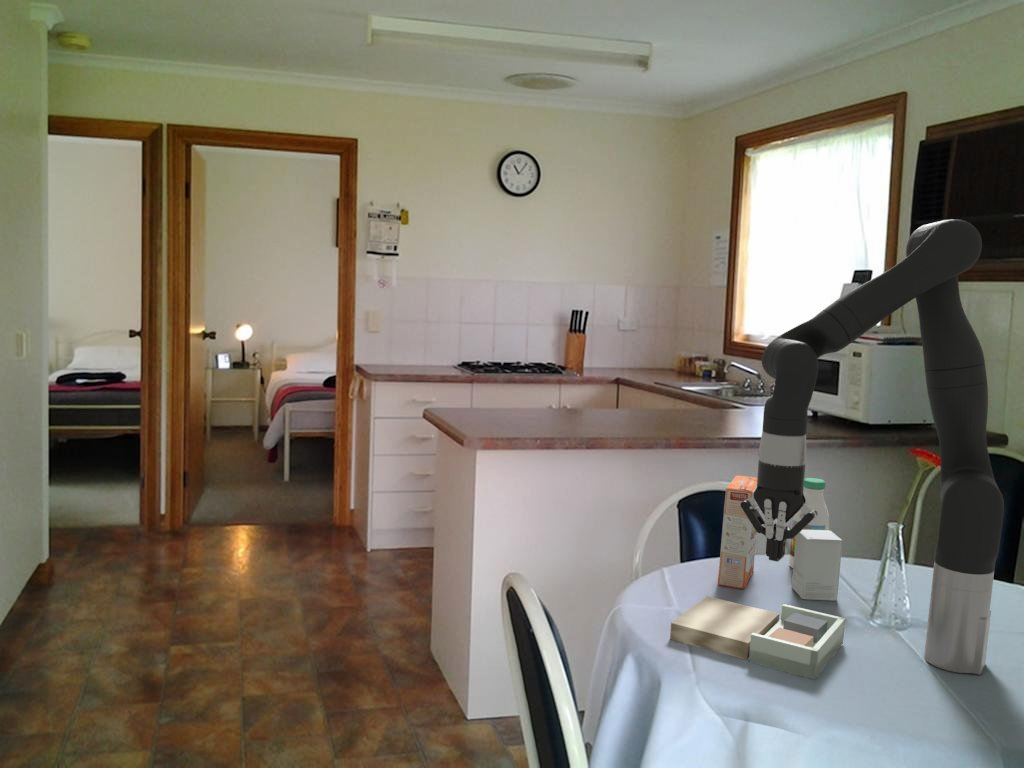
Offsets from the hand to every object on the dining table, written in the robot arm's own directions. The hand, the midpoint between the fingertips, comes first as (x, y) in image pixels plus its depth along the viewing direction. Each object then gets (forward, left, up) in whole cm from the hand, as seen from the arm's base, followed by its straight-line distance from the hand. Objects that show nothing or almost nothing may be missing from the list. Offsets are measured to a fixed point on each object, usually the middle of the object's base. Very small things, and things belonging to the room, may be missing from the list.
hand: (774, 559), depth 162 cm
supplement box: (+2, -36, -17) cm, 40 cm away
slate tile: (-4, -8, -15) cm, 17 cm away
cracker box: (+18, -35, -17) cm, 43 cm away
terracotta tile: (-4, +1, -15) cm, 15 cm away
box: (-4, -4, -17) cm, 18 cm away
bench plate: (+9, -4, -17) cm, 20 cm away
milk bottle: (+8, -52, -17) cm, 56 cm away
